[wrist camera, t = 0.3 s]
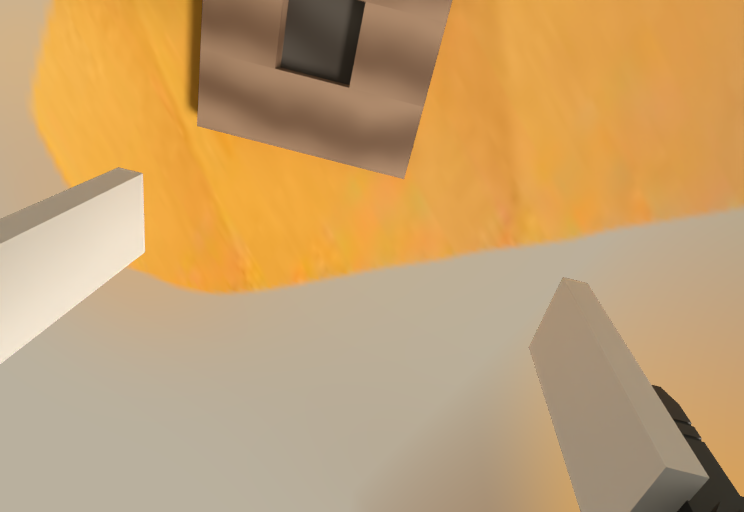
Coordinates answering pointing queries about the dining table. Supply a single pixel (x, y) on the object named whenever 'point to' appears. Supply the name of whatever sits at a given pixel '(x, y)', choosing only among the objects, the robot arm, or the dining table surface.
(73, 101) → the dining table surface
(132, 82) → the dining table surface
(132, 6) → the dining table surface
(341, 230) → the dining table surface
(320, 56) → the board
